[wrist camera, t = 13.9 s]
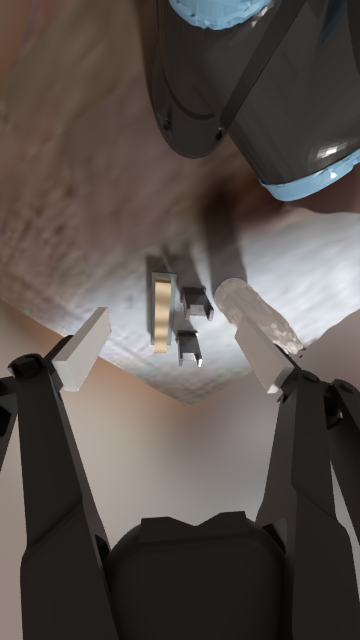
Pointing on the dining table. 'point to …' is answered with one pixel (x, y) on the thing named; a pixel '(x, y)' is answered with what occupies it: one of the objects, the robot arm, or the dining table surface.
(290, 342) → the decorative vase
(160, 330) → the rail
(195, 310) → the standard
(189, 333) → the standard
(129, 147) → the dining table surface
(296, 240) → the dining table surface
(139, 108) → the dining table surface
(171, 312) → the mat
